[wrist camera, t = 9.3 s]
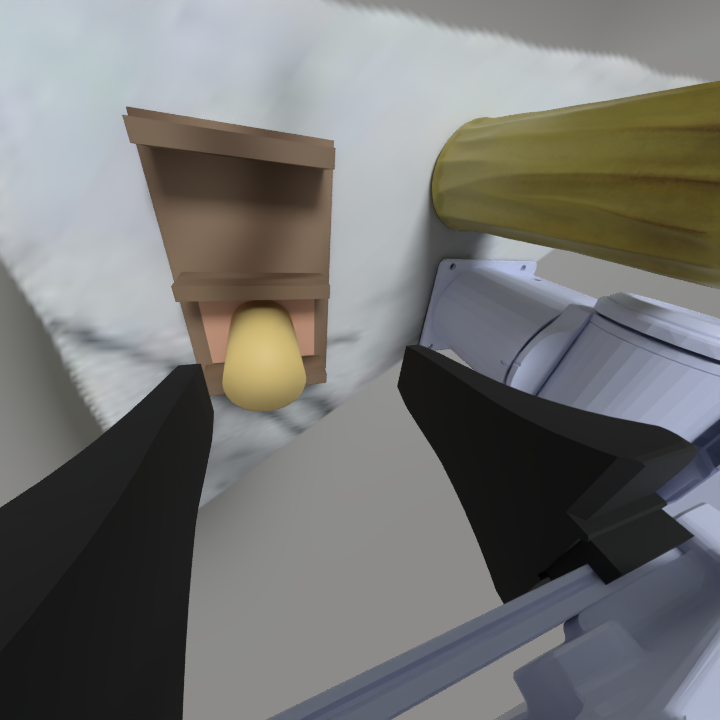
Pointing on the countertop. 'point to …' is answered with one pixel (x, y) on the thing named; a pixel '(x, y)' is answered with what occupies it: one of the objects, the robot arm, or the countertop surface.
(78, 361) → the countertop surface
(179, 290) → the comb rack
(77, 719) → the robot arm
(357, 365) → the countertop surface
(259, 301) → the peg
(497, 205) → the vase
